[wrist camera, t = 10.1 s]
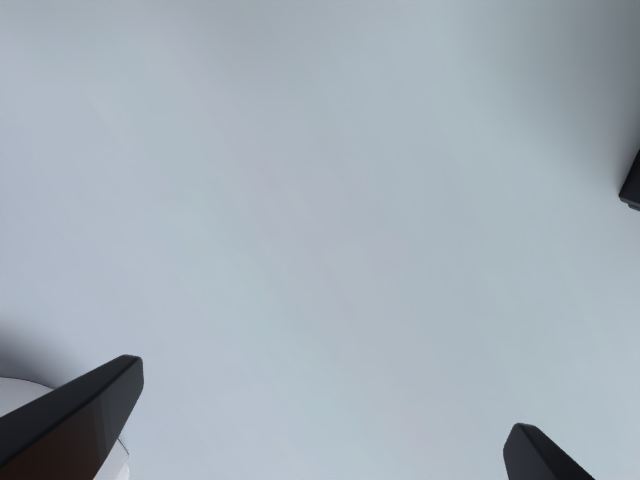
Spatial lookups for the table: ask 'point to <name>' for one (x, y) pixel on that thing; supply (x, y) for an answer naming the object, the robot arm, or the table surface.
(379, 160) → the table surface
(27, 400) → the roll of tape
